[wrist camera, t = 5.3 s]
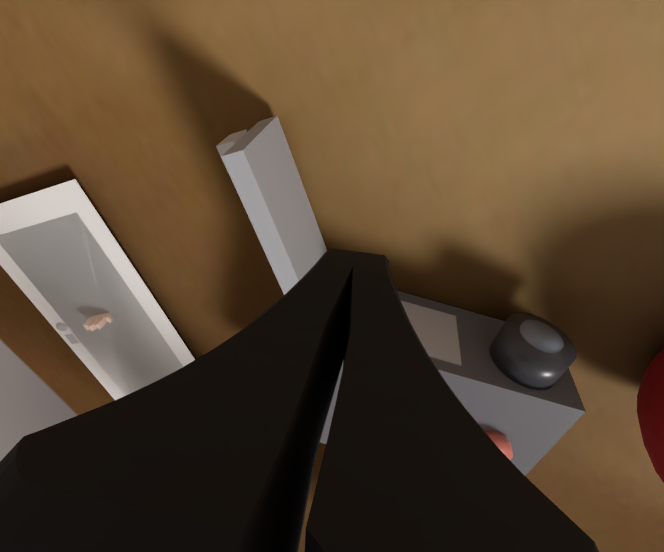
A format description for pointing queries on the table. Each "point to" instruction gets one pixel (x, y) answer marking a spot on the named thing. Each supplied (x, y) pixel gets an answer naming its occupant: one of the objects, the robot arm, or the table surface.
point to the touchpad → (88, 288)
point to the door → (274, 199)
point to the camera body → (499, 375)
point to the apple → (653, 412)
